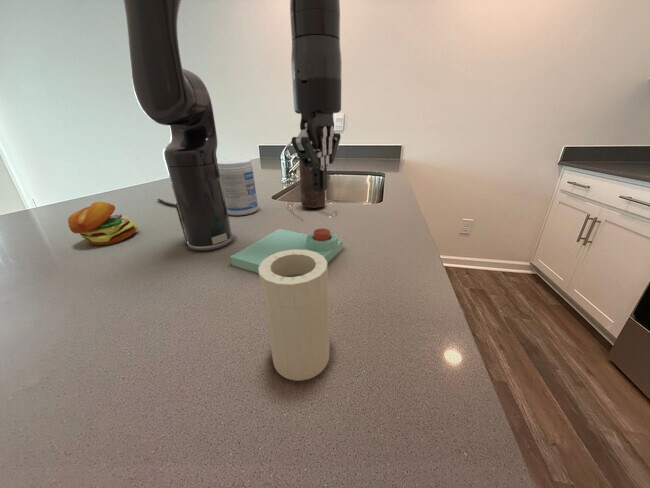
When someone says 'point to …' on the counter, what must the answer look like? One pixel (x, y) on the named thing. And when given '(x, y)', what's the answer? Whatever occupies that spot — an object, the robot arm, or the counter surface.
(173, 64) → the robot arm
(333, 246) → the scale
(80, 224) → the cheeseburger
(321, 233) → the tare button
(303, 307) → the jar
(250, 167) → the supplement tub
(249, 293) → the counter surface
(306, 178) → the candle
